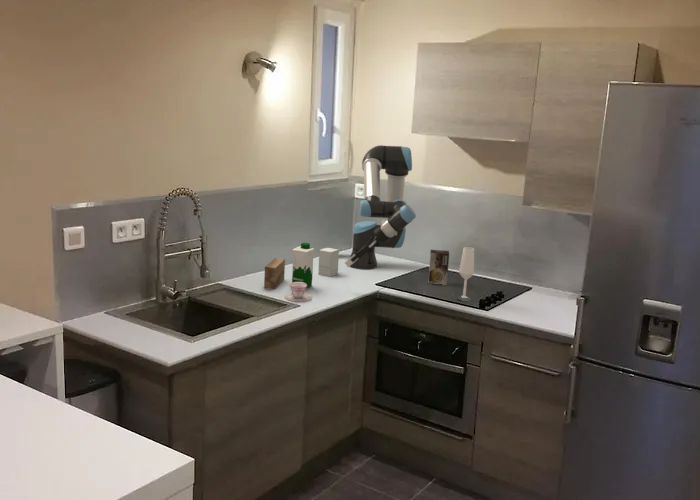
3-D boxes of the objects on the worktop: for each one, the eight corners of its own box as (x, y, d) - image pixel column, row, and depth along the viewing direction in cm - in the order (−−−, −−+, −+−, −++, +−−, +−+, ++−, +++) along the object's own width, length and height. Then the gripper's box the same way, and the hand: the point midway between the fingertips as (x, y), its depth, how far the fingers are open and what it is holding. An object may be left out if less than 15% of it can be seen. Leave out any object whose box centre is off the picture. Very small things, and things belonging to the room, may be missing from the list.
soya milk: (314, 285, 327) (316, 244, 322) (305, 290, 319) (307, 247, 314) (297, 282, 330) (299, 241, 326) (288, 287, 322) (290, 245, 317)
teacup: (284, 293, 313) (284, 280, 311) (311, 294, 314) (311, 281, 312) (284, 302, 301) (285, 288, 300) (312, 302, 302) (313, 289, 301)
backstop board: (284, 279, 334) (285, 259, 332) (274, 289, 318) (275, 267, 316) (274, 278, 335) (274, 258, 333) (264, 288, 319) (264, 266, 316)
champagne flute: (453, 297, 321) (458, 246, 316) (466, 297, 323) (472, 246, 318) (460, 302, 315) (465, 250, 309) (473, 301, 317) (479, 249, 311)
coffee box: (446, 282, 346) (449, 250, 342) (446, 285, 340) (449, 253, 336) (427, 280, 347) (430, 249, 343) (427, 284, 340) (430, 252, 337)
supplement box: (338, 274, 349) (339, 249, 346) (329, 277, 343) (331, 252, 340) (326, 271, 353) (327, 247, 350) (317, 274, 347) (318, 249, 344)
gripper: (389, 241, 306) (349, 274, 312) (392, 235, 319) (354, 267, 325) (378, 228, 306) (338, 261, 312) (381, 223, 318) (343, 255, 324)
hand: (346, 264), depth 318 cm, fingers closed
